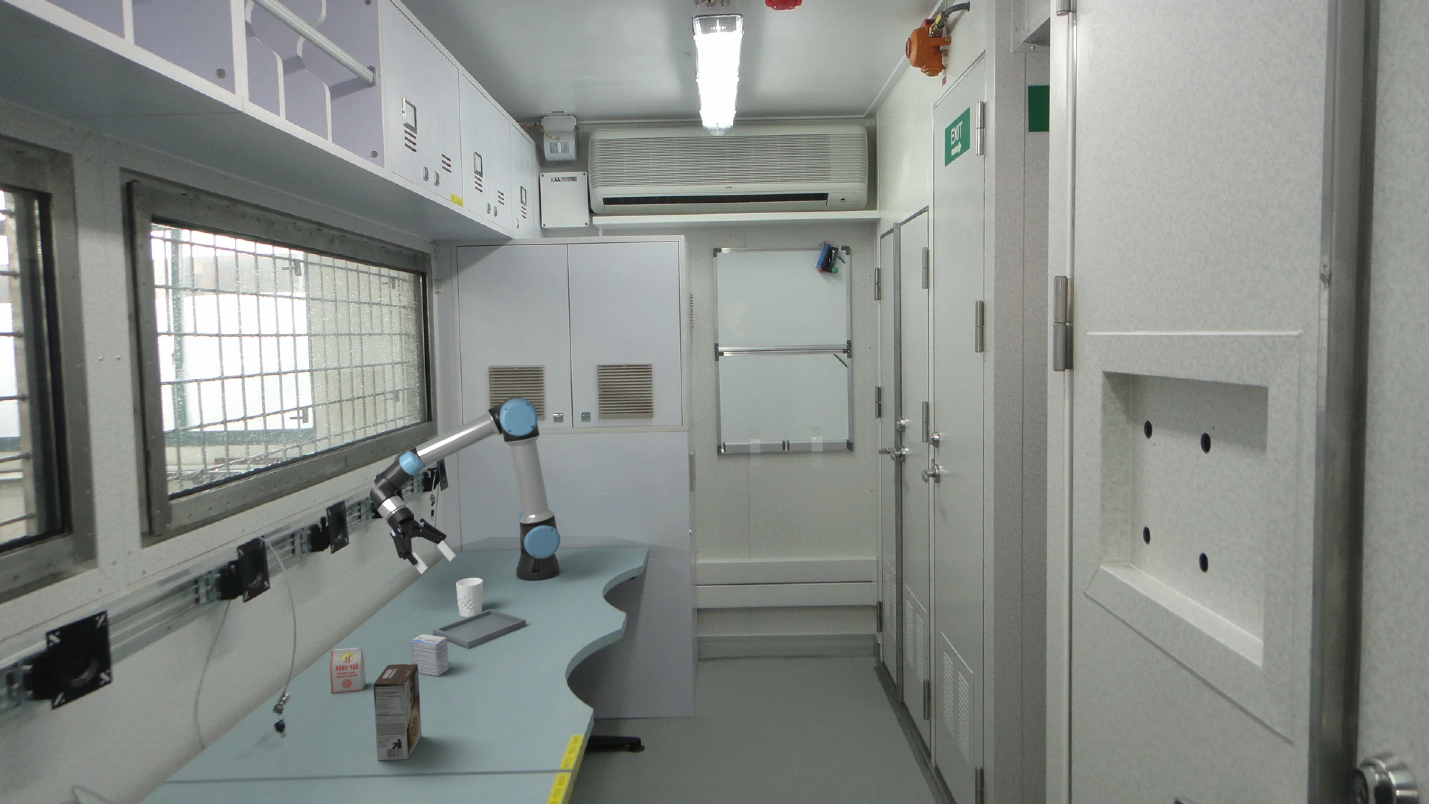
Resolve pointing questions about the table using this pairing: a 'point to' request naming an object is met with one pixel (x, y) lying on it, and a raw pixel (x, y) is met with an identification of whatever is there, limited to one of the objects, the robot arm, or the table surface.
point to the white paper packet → (347, 670)
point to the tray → (479, 628)
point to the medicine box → (430, 654)
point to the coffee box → (397, 711)
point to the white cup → (469, 596)
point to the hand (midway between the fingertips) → (439, 564)
